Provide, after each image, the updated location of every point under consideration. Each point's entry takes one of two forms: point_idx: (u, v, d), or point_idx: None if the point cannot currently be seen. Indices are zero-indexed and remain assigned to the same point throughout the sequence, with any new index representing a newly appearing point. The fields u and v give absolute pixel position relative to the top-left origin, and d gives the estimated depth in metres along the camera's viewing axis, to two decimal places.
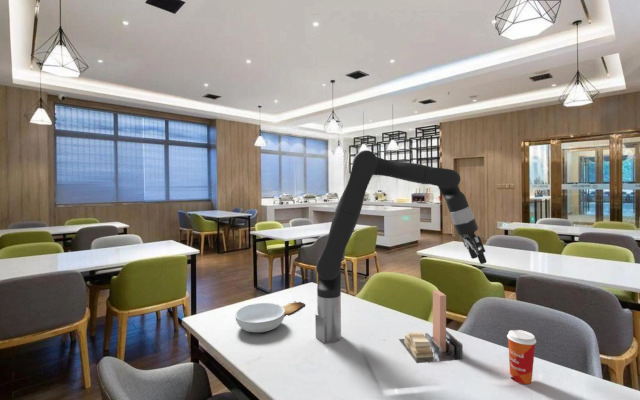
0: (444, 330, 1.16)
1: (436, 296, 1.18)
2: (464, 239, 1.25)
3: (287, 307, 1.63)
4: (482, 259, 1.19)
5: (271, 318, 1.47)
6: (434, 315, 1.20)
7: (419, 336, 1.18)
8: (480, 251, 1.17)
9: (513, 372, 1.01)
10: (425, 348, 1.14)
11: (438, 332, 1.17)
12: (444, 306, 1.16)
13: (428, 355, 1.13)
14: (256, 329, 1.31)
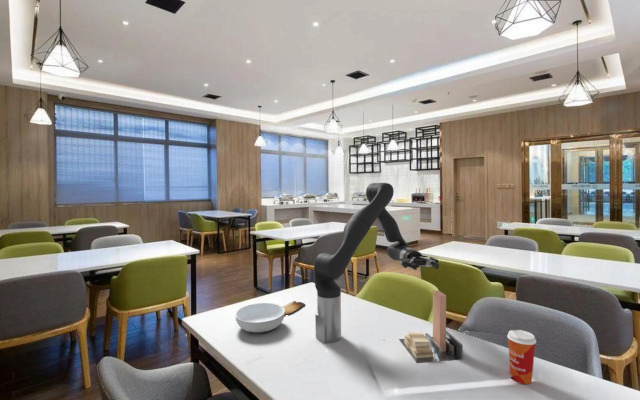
0: (444, 330, 1.16)
1: (436, 296, 1.18)
2: (415, 256, 1.37)
3: (287, 307, 1.63)
4: None
5: (271, 318, 1.47)
6: (434, 315, 1.20)
7: (419, 336, 1.18)
8: None
9: (513, 372, 1.01)
10: (425, 348, 1.14)
11: (438, 332, 1.17)
12: (444, 306, 1.16)
13: (428, 355, 1.13)
14: (256, 329, 1.31)
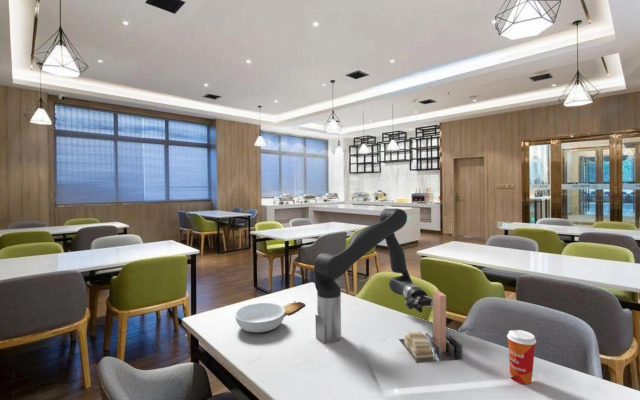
0: (444, 330, 1.16)
1: (436, 296, 1.18)
2: (419, 296, 1.33)
3: (287, 307, 1.63)
4: None
5: (271, 318, 1.47)
6: (434, 315, 1.20)
7: (419, 336, 1.18)
8: None
9: (513, 372, 1.01)
10: (425, 348, 1.14)
11: (438, 332, 1.17)
12: (444, 306, 1.16)
13: (428, 355, 1.13)
14: (256, 329, 1.31)
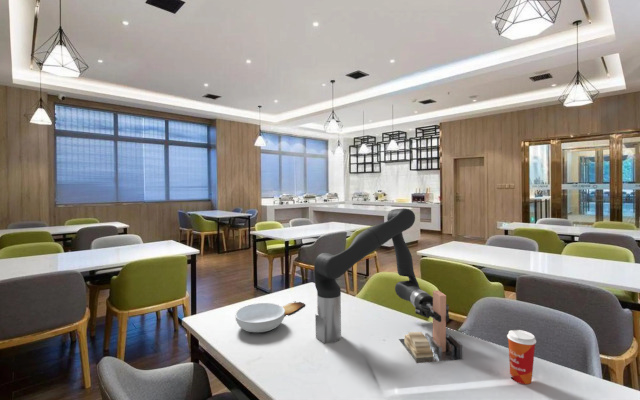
0: (444, 330, 1.16)
1: (436, 296, 1.18)
2: (428, 303, 1.25)
3: (287, 307, 1.63)
4: None
5: (271, 318, 1.47)
6: None
7: (419, 336, 1.18)
8: None
9: (513, 372, 1.01)
10: (425, 348, 1.14)
11: (438, 332, 1.17)
12: (444, 306, 1.16)
13: (428, 355, 1.13)
14: (256, 329, 1.31)
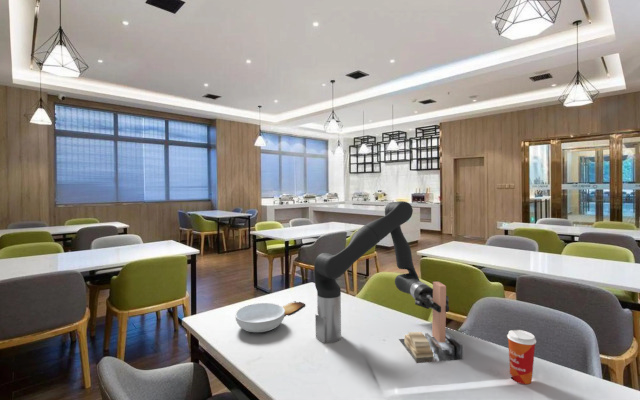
0: (444, 321, 1.16)
1: (436, 287, 1.18)
2: (428, 294, 1.25)
3: (287, 307, 1.63)
4: None
5: (271, 318, 1.47)
6: None
7: (419, 336, 1.18)
8: None
9: (513, 372, 1.01)
10: (425, 348, 1.14)
11: (437, 323, 1.17)
12: (444, 297, 1.15)
13: (428, 355, 1.13)
14: (256, 329, 1.31)
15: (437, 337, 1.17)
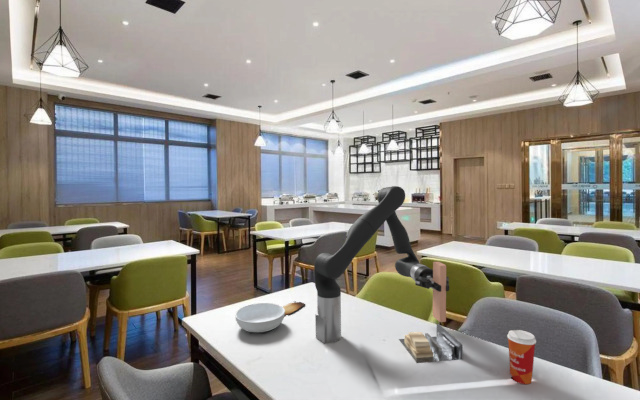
0: (444, 300, 1.16)
1: (436, 267, 1.18)
2: (428, 275, 1.25)
3: (287, 307, 1.63)
4: None
5: (271, 318, 1.47)
6: None
7: (419, 336, 1.18)
8: None
9: (513, 372, 1.01)
10: (425, 348, 1.14)
11: (438, 303, 1.17)
12: (444, 276, 1.15)
13: (428, 355, 1.13)
14: (256, 329, 1.31)
15: (437, 317, 1.17)
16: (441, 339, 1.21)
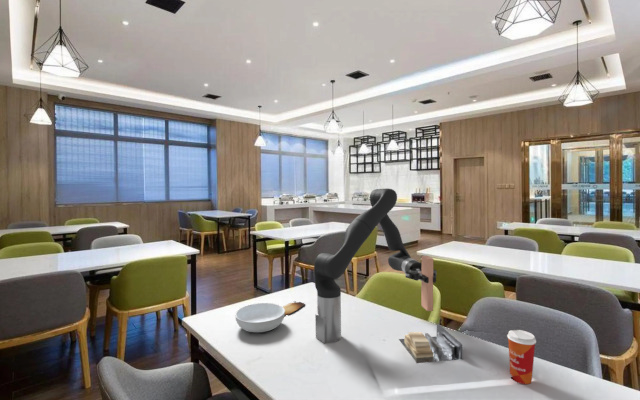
0: (431, 291, 1.26)
1: (424, 260, 1.28)
2: (417, 268, 1.35)
3: (287, 307, 1.63)
4: None
5: (271, 318, 1.47)
6: None
7: (419, 336, 1.18)
8: None
9: (513, 372, 1.01)
10: (425, 348, 1.14)
11: (426, 293, 1.27)
12: (431, 269, 1.25)
13: (428, 355, 1.13)
14: (256, 329, 1.31)
15: (425, 306, 1.27)
16: (441, 339, 1.21)
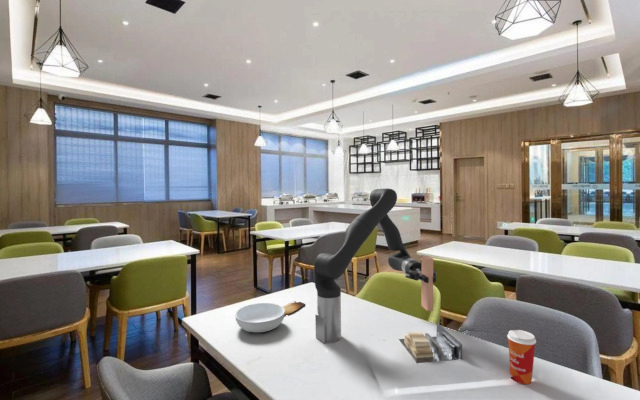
0: (431, 291, 1.26)
1: (424, 260, 1.28)
2: (417, 268, 1.35)
3: (287, 307, 1.63)
4: None
5: (271, 318, 1.47)
6: None
7: (419, 336, 1.18)
8: None
9: (513, 372, 1.01)
10: (425, 348, 1.14)
11: (426, 293, 1.27)
12: (431, 268, 1.25)
13: (428, 355, 1.13)
14: (256, 329, 1.31)
15: (425, 306, 1.27)
16: (441, 339, 1.21)
